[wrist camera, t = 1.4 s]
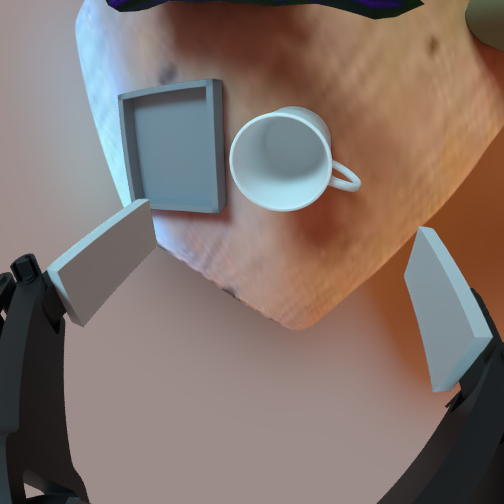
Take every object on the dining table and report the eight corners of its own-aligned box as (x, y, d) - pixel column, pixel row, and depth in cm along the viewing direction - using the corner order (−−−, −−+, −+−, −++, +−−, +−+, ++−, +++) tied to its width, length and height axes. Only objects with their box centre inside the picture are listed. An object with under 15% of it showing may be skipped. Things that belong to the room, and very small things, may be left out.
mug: (368, 143, 28) (391, 168, 18) (332, 200, 33) (334, 250, 23) (277, 94, 27) (252, 91, 17) (247, 155, 32) (211, 185, 22)
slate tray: (221, 80, 28) (212, 78, 25) (226, 204, 36) (218, 213, 34) (131, 93, 30) (117, 95, 28) (143, 200, 39) (132, 207, 37)
